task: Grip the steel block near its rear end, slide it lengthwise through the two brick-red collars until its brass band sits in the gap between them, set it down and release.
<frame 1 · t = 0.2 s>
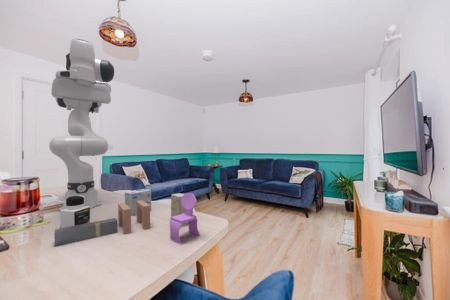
hand: (83, 111, 84), 47 cm above the table, tool pointing down, fingers open, 8 cm apart
toy chair: (184, 237, 70), on the table
steel block: (88, 237, 71), on the table
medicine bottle: (75, 225, 82), on the table
light bulb box: (138, 212, 99), on the table
brick collars: (134, 226, 80), on the table
skincare box: (179, 224, 82), on the table
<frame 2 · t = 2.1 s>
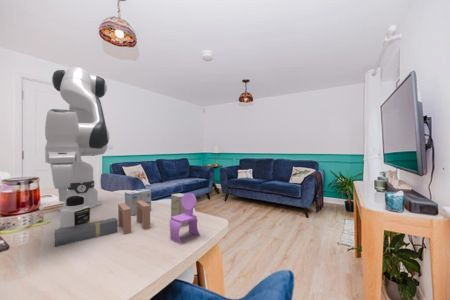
hand: (63, 198, 66), 15 cm above the table, tool pointing down, fingers open, 8 cm apart
nothing on the table moved.
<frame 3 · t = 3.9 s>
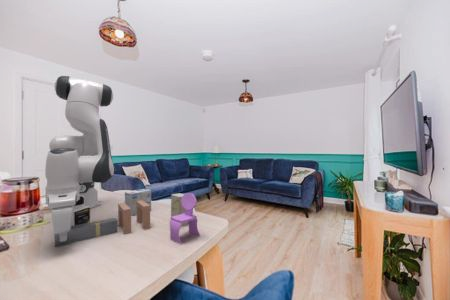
hand: (63, 237, 66), 2 cm above the table, tool pointing down, fingers closed on steel block, 4 cm apart
steel block: (88, 237, 71), on the table, touching gripper
everything else where it was.
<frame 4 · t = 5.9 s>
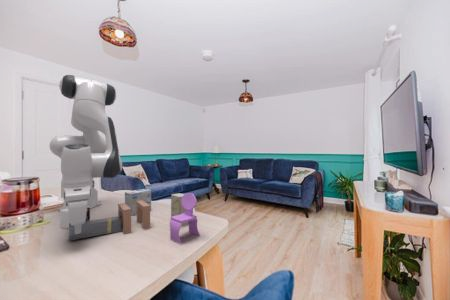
hand: (77, 230, 69), 3 cm above the table, tool pointing down, fingers closed on steel block, 4 cm apart
steel block: (99, 233, 73), on the table, touching gripper
everything else where it was.
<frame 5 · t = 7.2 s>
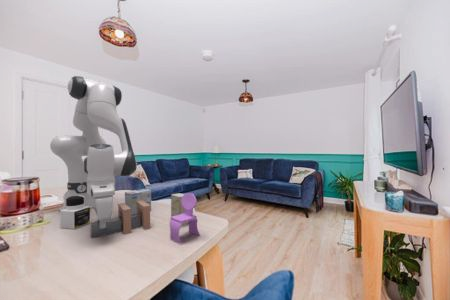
hand: (101, 225, 73), 3 cm above the table, tool pointing down, fingers closed on steel block, 4 cm apart
steel block: (119, 230, 77), on the table, touching gripper
everything else where it was.
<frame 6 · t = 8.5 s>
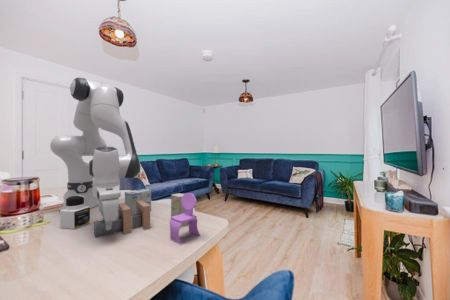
hand: (107, 227, 74), 2 cm above the table, tool pointing down, fingers closed on steel block, 4 cm apart
steel block: (122, 229, 77), on the table, touching gripper
everything else where it was.
when the fingers open (2 cm above the table, at t = 8.8 s): steel block stays where it is, on the table.
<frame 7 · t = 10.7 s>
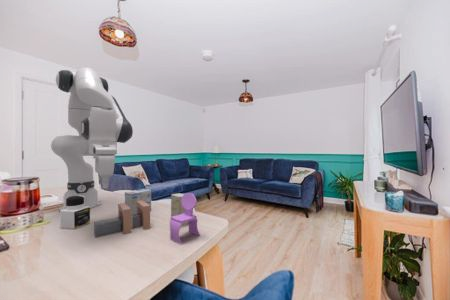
hand: (103, 186, 75), 17 cm above the table, tool pointing down, fingers open, 8 cm apart
steel block: (122, 229, 77), on the table
everything else where it was.
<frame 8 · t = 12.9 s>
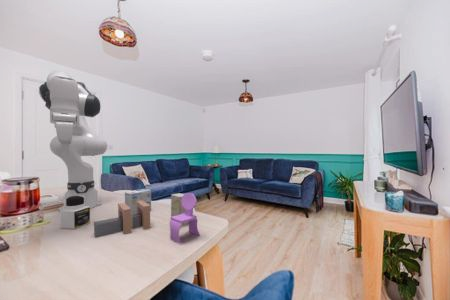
hand: (65, 155, 76), 29 cm above the table, tool pointing down, fingers open, 8 cm apart
nothing on the table moved.
at the end: steel block 1.6 cm from the target spot, on the table; steel block tilted 0°; the gripper is holding nothing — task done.
